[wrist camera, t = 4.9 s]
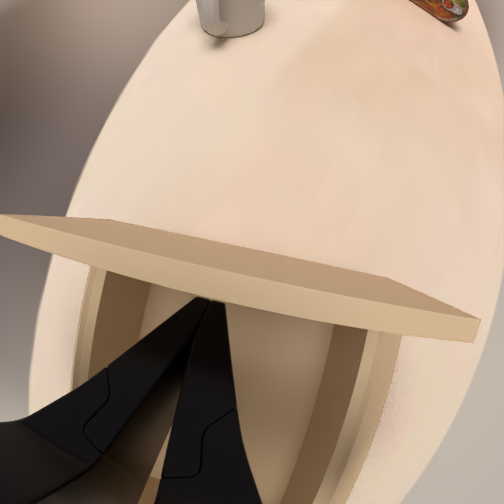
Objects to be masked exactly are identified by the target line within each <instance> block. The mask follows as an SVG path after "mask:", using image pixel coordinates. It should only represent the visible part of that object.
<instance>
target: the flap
mask: <svg viewBox="0 0 504 504" xmlns="http://www.w3.org/2000/svg"><path fill="white" fill-rule="evenodd" d="M0 235H2V236H4V237H7V238H10V239H13V240H15V241H18V242H21V243H24V244H26V245H30V246H32V247H35V248H39V249H41V250H44V251H47V252H50V253H53V254H56V255H59V256H62V257H65V258H68V259H71V260H75V261H78V262H81V263H84V264H87V265H91V266H94V267H97V268H101V269H104V270H107V271H111V272H114V273H118V274H121V275H125V276H128V277H132V278H135V279H139V280H142V281H146V282H150V283H153V284H157V285H161V286H165V287H168V288H172V289H176V290H180V291H184V292H188V293H192V294H196V295H200V296H204V297H208V298H213V299H217V300H221V301H225V302H230V303H234V304H238V305H243V306H247V307H252V308H257V309H261V310H266V311H271V312H276V313H280V314H285V315H290V316H295V317H300V318H306V319H311V320H316V321H322V322H327V323H333V324H338V325H344V326H350V327H356V328H362V329H368V330H375V331H381V332H388V333H395V334H402V335H409V336H416V337H424V338H432V339H440V340H449V341H458V342H468V343H474V340H475V337H476V334H477V331H478V328H479V325H480V322H481V320H480V319H478V318H476V317H474V316H472V315H470V314H468V313H465V312H463V311H461V310H459V309H457V308H455V307H452V306H450V305H448V304H446V303H443V302H441V301H439V300H437V299H435V298H432V297H430V296H428V295H426V294H423V293H421V292H419V291H417V290H414V289H412V288H410V287H407V286H405V285H403V284H401V283H398V282H396V281H394V280H391V279H389V278H386V277H381V276H376V275H372V274H367V273H362V272H358V271H353V270H348V269H344V268H339V267H334V266H329V265H325V264H320V263H315V262H311V261H306V260H301V259H296V258H292V257H287V256H282V255H277V254H273V253H268V252H263V251H258V250H254V249H249V248H244V247H239V246H235V245H230V244H225V243H220V242H216V241H211V240H206V239H201V238H196V237H192V236H187V235H182V234H177V233H172V232H168V231H163V230H158V229H153V228H148V227H144V226H139V225H134V224H129V223H124V222H119V221H115V220H110V219H92V218H74V217H53V216H51V217H50V216H30V215H1V214H0Z"/></svg>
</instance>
